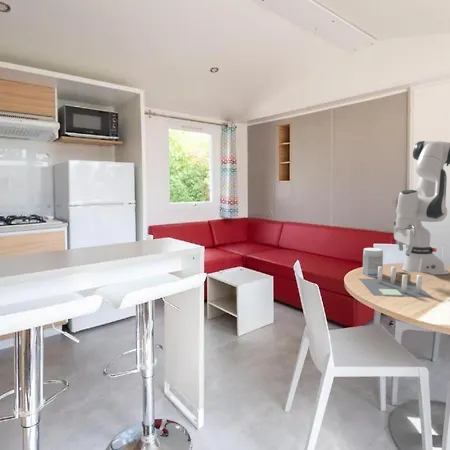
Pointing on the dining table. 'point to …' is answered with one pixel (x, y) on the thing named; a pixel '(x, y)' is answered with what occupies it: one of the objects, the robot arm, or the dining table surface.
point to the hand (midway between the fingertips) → (404, 252)
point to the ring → (399, 277)
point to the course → (395, 285)
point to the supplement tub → (372, 261)
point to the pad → (390, 292)
